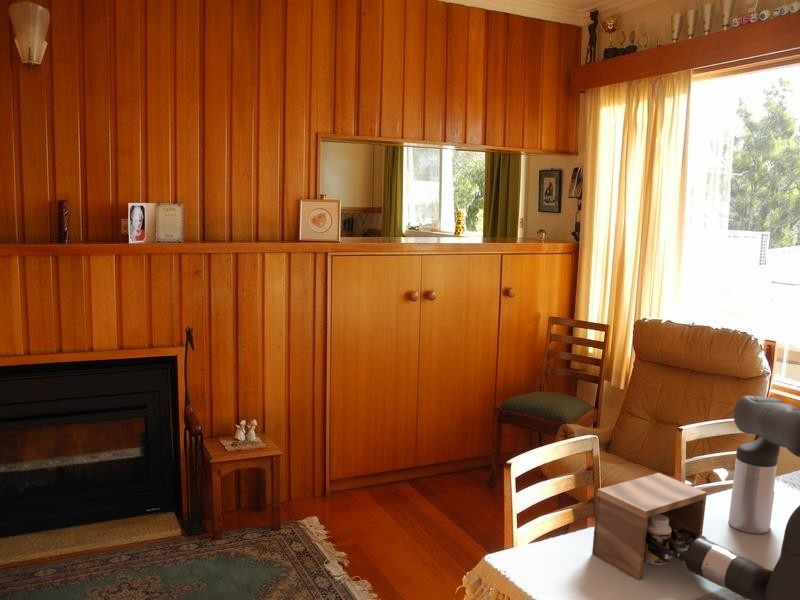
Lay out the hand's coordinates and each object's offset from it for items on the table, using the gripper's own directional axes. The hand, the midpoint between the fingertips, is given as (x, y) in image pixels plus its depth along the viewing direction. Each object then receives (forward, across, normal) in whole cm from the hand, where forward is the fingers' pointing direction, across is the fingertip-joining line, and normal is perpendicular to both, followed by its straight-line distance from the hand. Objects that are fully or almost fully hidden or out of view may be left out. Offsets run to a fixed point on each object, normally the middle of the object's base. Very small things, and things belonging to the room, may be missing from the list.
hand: (648, 530), depth 171 cm
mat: (-12, -14, +6) cm, 19 cm away
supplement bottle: (-3, 0, +6) cm, 7 cm away
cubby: (0, 0, +6) cm, 6 cm away
